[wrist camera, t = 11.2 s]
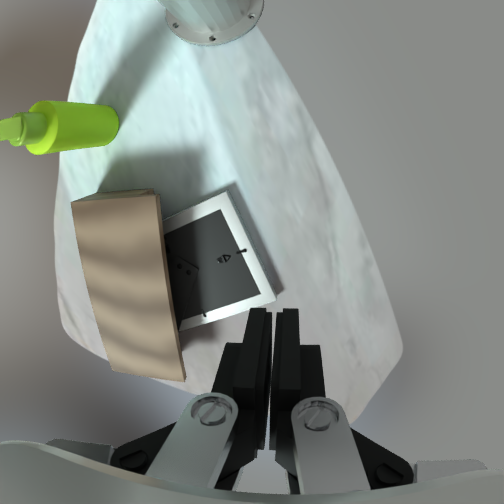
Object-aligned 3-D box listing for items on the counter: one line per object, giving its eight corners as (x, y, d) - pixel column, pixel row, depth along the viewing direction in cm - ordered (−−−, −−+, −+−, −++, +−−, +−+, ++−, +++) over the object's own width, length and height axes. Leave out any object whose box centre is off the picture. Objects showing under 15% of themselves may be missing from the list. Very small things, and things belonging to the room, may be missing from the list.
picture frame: (158, 331, 48) (277, 293, 43) (151, 341, 46) (276, 303, 41) (108, 247, 44) (229, 188, 39) (99, 254, 41) (225, 192, 36)
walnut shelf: (95, 193, 40) (70, 202, 35) (174, 187, 39) (155, 196, 33) (127, 348, 50) (112, 370, 44) (194, 356, 48) (184, 382, 42)
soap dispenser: (124, 145, 38) (16, 162, 19) (84, 146, 38) (-24, 165, 20) (127, 103, 36) (19, 92, 17) (87, 107, 36) (-22, 105, 17)
